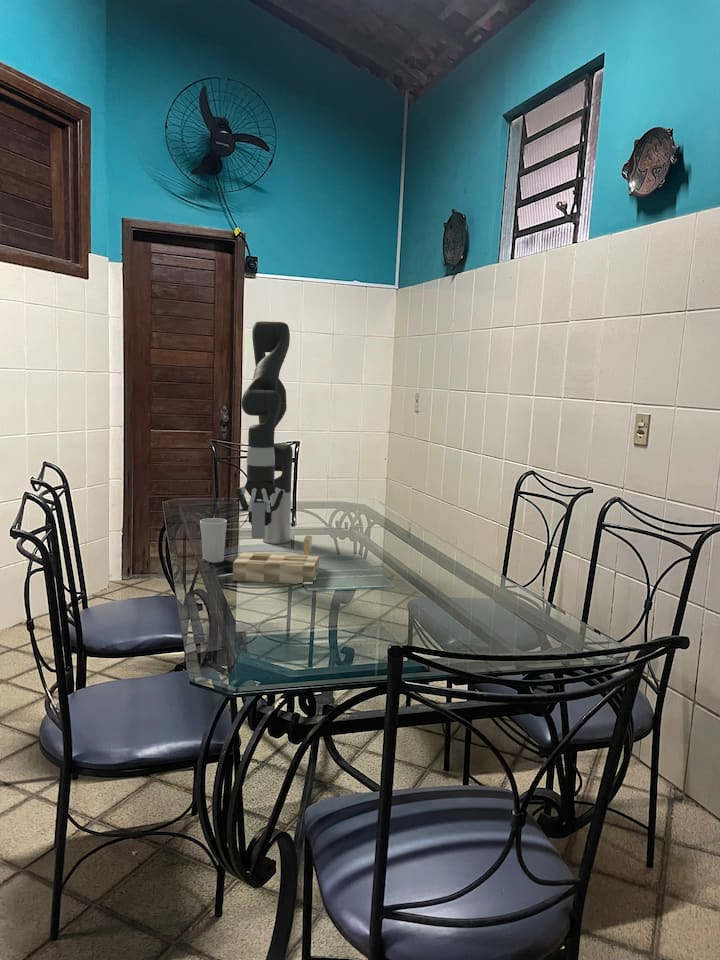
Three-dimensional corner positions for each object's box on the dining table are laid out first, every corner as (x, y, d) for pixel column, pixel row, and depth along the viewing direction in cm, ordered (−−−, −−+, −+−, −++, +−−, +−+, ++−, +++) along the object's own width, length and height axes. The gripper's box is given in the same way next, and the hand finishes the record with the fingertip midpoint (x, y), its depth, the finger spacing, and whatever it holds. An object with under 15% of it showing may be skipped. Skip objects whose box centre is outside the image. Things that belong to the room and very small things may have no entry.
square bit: (254, 534, 194) (254, 499, 192) (267, 535, 193) (267, 500, 192) (251, 538, 190) (251, 502, 188) (264, 538, 190) (264, 503, 188)
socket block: (243, 568, 200) (243, 551, 199) (318, 572, 199) (319, 555, 198) (232, 580, 188) (233, 562, 188) (313, 584, 187) (313, 566, 186)
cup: (200, 563, 204) (200, 523, 202) (199, 556, 211) (199, 518, 210) (227, 562, 206) (228, 523, 204) (225, 556, 214) (225, 517, 212)
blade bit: (305, 564, 207) (306, 535, 205) (311, 565, 206) (311, 535, 205) (303, 569, 201) (303, 539, 200) (308, 569, 201) (309, 539, 200)
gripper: (288, 462, 193) (287, 523, 195) (238, 460, 194) (238, 520, 196) (284, 465, 185) (282, 528, 188) (232, 463, 186) (231, 526, 188)
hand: (259, 524), depth 192 cm, fingers closed on square bit, 3 cm apart
